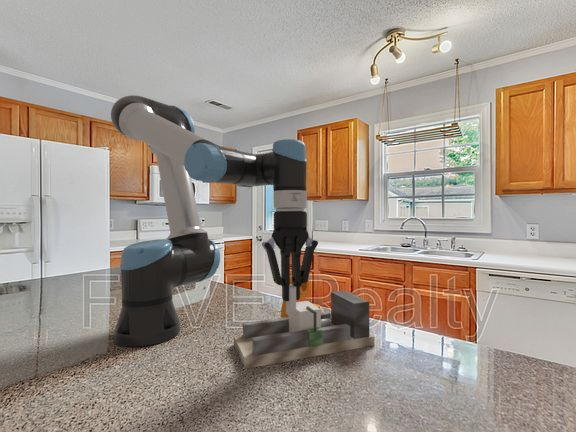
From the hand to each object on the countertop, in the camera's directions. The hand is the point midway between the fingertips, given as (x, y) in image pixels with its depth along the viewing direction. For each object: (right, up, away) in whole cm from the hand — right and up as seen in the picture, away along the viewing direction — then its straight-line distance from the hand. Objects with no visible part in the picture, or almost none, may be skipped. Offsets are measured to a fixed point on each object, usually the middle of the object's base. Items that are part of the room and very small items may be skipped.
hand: (291, 314), depth 72 cm
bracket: (+3, -7, +21) cm, 22 cm away
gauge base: (+3, -7, +1) cm, 8 cm away
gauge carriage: (+5, -5, +1) cm, 7 cm away
